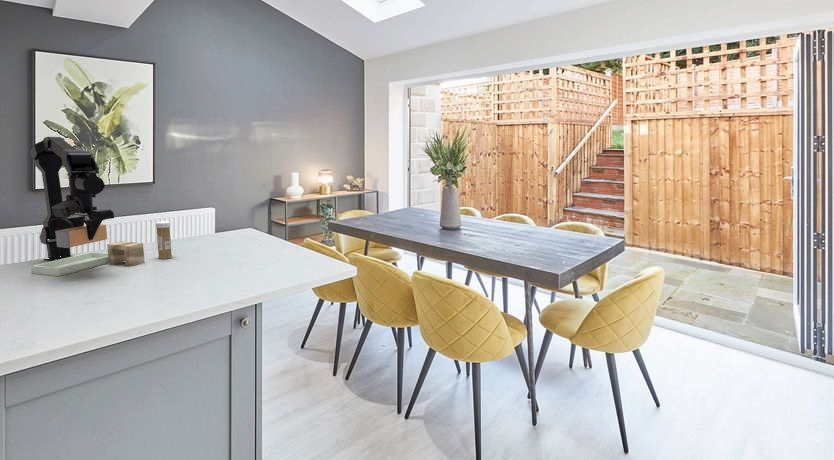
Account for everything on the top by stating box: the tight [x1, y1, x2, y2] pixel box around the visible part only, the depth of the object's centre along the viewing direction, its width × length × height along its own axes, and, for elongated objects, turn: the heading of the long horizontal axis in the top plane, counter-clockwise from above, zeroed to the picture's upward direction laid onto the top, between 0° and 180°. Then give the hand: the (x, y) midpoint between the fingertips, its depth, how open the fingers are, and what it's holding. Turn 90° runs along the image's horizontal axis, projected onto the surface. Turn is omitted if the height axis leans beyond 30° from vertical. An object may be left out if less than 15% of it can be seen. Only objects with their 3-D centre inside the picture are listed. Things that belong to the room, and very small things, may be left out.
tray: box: [30, 251, 109, 277], centre depth 155 cm, size 11×22×2 cm, turn 167°
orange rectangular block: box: [55, 223, 108, 249], centre depth 148 cm, size 4×14×5 cm, turn 167°
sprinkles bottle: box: [155, 220, 173, 260], centre depth 170 cm, size 5×5×13 cm
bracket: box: [106, 240, 145, 267], centre depth 161 cm, size 9×6×7 cm, turn 77°
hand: (85, 239), depth 149 cm, fingers closed on orange rectangular block, 4 cm apart
